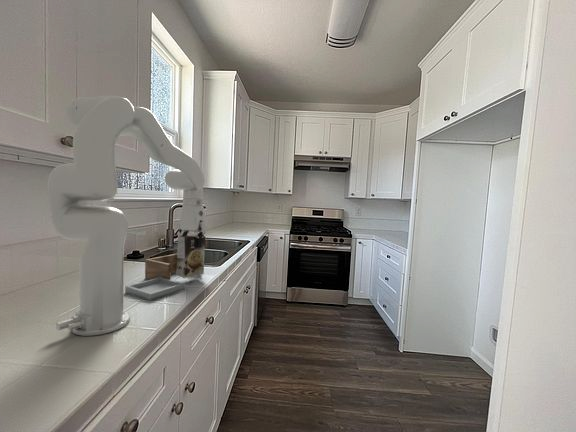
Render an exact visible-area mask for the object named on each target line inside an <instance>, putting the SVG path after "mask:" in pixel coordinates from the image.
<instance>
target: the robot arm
mask: <svg viewBox="0 0 576 432" xmlns="http://www.w3.org/2000/svg"><path fill="white" fill-rule="evenodd" d="M65 114H66V117H67V119H68V121H69V123H71V124H72V126H74V128H75V130H74V133H73V137H72V155H73V157H72V158H73V162H71V163H70V162H69V163H62V164H59V165H57V166H55V167H54V168H53V169H52V170H51V172H50V174H49V175H48V179H47V192H48V193H47V194H48V200H49V207H50V213H51V219H52V220H51V221H52V224H53V227H54V230H55V232H56V233H57V234H58V235H59V236H60V237H61V238H63V239H65V240H70V241H78V242H86V244H85V246H84V248H83V250H82V252H81V254H80V257H79V310H77V311H76V312H74V316H72V317H70V319H69V318H68V319H64V320H61V321H57V322H56V324H55V328H56V331H60V330H61V331H62V330H65V329H67V330H69V331H71V330H72V332H73V333H74V334H75V335H78V336H85V337H87V336H88V337H90V336H99V335H103V334H109V333H112V332H115V331H117V330H120V329H122V328H124V327H125V326H126V325H128V324H129V322H130V320H131V319H130V317H131V315H130V314H129V313H128V312H126V311H124V252H125V244H126V243H125V242H126V238H127V234H128V229H129V221H128V218H127V216H126V215H125V213H124V212H123V211H122V210H120V209H118V208H116V207H113V206H108V205H107V206H106V205H105V206H104V205H90V204H89V201H90V202H106V201H109V200H111V199H113V198H114V197H116V195H117V193H118V186H119V185H118V175H117V166H116V165H117V164H116V153H115V148H116V143H117V140H118V138H120V137H121V138H122V137H132V138H135V139H136V141H137V142H138V143H139V145H140V146H141V147H142V148H143V150H144V151H145V152H146V154H147V155H148V157H149V158H150V159H152V160H153V161H155V162H158V163H160V164H162V165H165V166H168V167H172V168H175V169H171V170H169V171H168V172H166V174H165V176H164V182H165V184H166V185H167V187H168V188H171V189H173V190H179V191H180V190H181V191H182V207H181V210H180V219H179V224H178V225H177V229H178V232H179V233H180V235H179V236H189V232H194V235H195V236H196V238H195V244H194V247H195V248H201V246H202V238H203V236H205V234H206V233H207V232H208V228H207V226H206V215H205V209H204V208H205V207H204V206H203V204H204V201H203V199H204V198H203V192H204V191H203V190H204V186H205V175H204V172H203V170H202V168H201V167H200V166H199V163H198V162H197V161H196V159H194V158H193V157H192V156H191V155H189V154H188V153H187V152H185V151H184V150H182V149H180V148H179V147H177V146H175V145H174V144H173V143H172V141H171V139H170V138H169V137H168V135H167V133H166V132H165V130H164V129H163V126H162V125H161V124H160V121H158V119H157V117H156V116H155V114H154V113H153V112H152V111H151V110H150V109H148V108H145V107H141V106H133V104H132V102H131V101H130V100H129V99H127V98H125V97H122V96H119V95H98V96H88V97H87V96H85V97H84V96H82V97H76V98H73V99H71V100H70V101H69V102H68V103H67V105H66V106H65Z"/></svg>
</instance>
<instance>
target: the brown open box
mask: <svg viewBox="0 0 576 432" xmlns="http://www.w3.org/2000/svg"><path fill="white" fill-rule="evenodd" d="M144 261H145V263H144V265H145V266H144V278H145V280H151V279H155V278H159V277H162V278H166V279H170V280H171V274H172V273H175V272H176V269H177V253H173V254H168V255H163V256H157V257H152V258H145V260H144Z"/></svg>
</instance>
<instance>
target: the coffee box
mask: <svg viewBox="0 0 576 432" xmlns="http://www.w3.org/2000/svg"><path fill="white" fill-rule="evenodd" d="M195 238H196V236H195V234H194V235H187V236H180V235H177V252H176V254H177V269H176V275H175V276H178V277H181V278H183V279H187V278H191V277H198V276H202V275H204V274H205V271H204V270H205V249H206V247H205V246H206V236H205V235H204V236H203V238H202V246H201V248H195V247H194V244H195Z"/></svg>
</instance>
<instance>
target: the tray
mask: <svg viewBox="0 0 576 432" xmlns="http://www.w3.org/2000/svg"><path fill="white" fill-rule="evenodd" d="M124 287H125V290H124V291H125V292H124V294H127V295H131V296H133V297H137V298H140V299H142V300H146V301H148V302H152V301H155V300H159V299H161V298H164V297H167V296H171V295H173V294H176V293H178V292H179V293H180V292H182V291H185V290H186V283H185V282H180V281H177V280H173V279H171V278H170V279H166V278H162V277H159V278H155V279H151V280H149V279H146V280H143V281H140V282H137V283H133V284H129V285H125V286H124Z"/></svg>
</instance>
